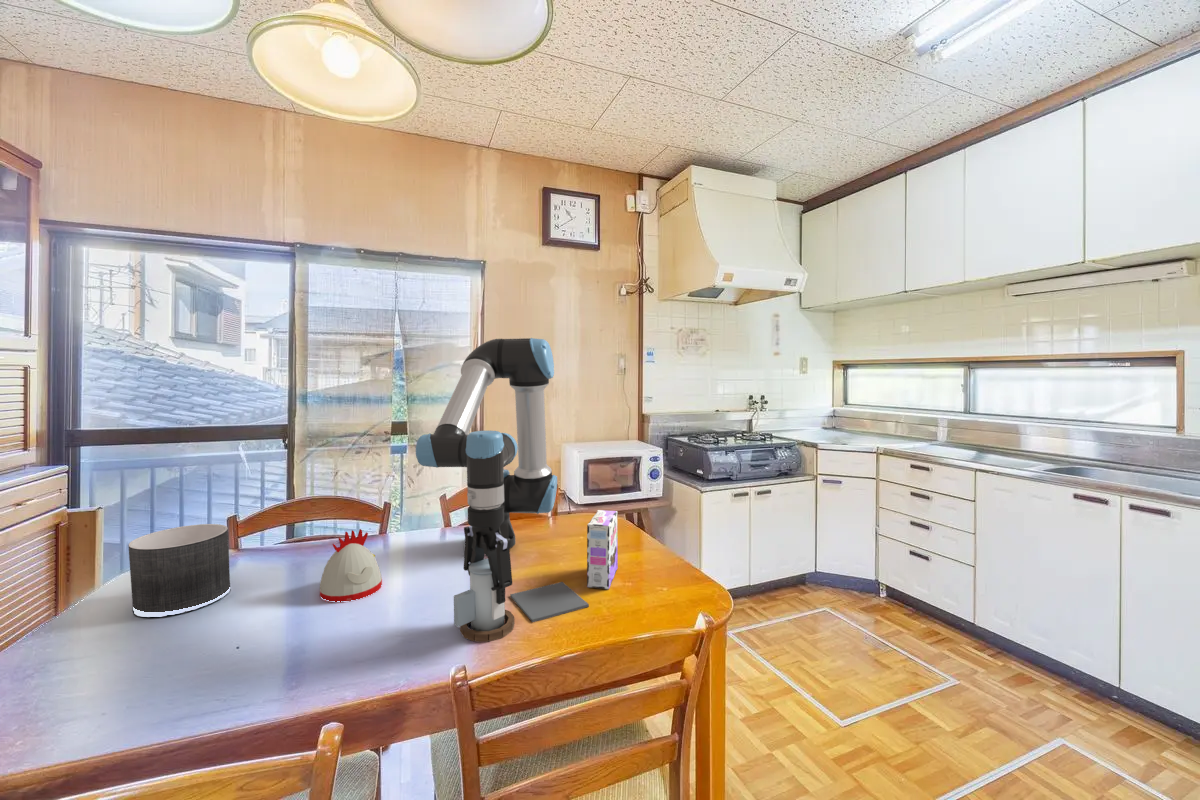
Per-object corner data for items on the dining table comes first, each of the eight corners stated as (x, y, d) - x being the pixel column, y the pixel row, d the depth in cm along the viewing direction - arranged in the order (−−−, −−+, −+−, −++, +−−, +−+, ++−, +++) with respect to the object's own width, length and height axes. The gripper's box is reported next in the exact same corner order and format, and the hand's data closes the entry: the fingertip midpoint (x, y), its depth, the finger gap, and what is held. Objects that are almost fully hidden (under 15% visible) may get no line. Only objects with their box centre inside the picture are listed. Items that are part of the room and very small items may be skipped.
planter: (246, 591, 120) (243, 529, 119) (156, 626, 104) (152, 554, 103) (206, 579, 127) (203, 520, 126) (116, 609, 111) (112, 542, 110)
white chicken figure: (391, 589, 121) (389, 530, 121) (331, 608, 111) (329, 545, 111) (368, 573, 131) (367, 519, 130) (311, 590, 121) (309, 531, 120)
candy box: (609, 590, 121) (609, 525, 120) (586, 588, 122) (586, 524, 121) (618, 568, 134) (618, 510, 133) (597, 566, 135) (597, 508, 134)
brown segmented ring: (455, 622, 105) (455, 615, 105) (503, 609, 111) (503, 603, 110) (468, 647, 96) (468, 640, 95) (521, 632, 101) (521, 625, 101)
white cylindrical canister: (492, 612, 108) (491, 555, 108) (512, 623, 103) (511, 564, 103) (447, 632, 100) (445, 571, 99) (466, 646, 95) (465, 581, 94)
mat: (510, 596, 117) (510, 594, 117) (562, 583, 124) (562, 581, 124) (532, 622, 105) (532, 619, 105) (588, 606, 112) (588, 604, 112)
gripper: (445, 499, 106) (447, 601, 107) (499, 518, 92) (500, 635, 94) (474, 493, 111) (476, 590, 112) (530, 510, 98) (531, 620, 99)
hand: (487, 610), depth 103 cm, fingers closed on white cylindrical canister, 7 cm apart
